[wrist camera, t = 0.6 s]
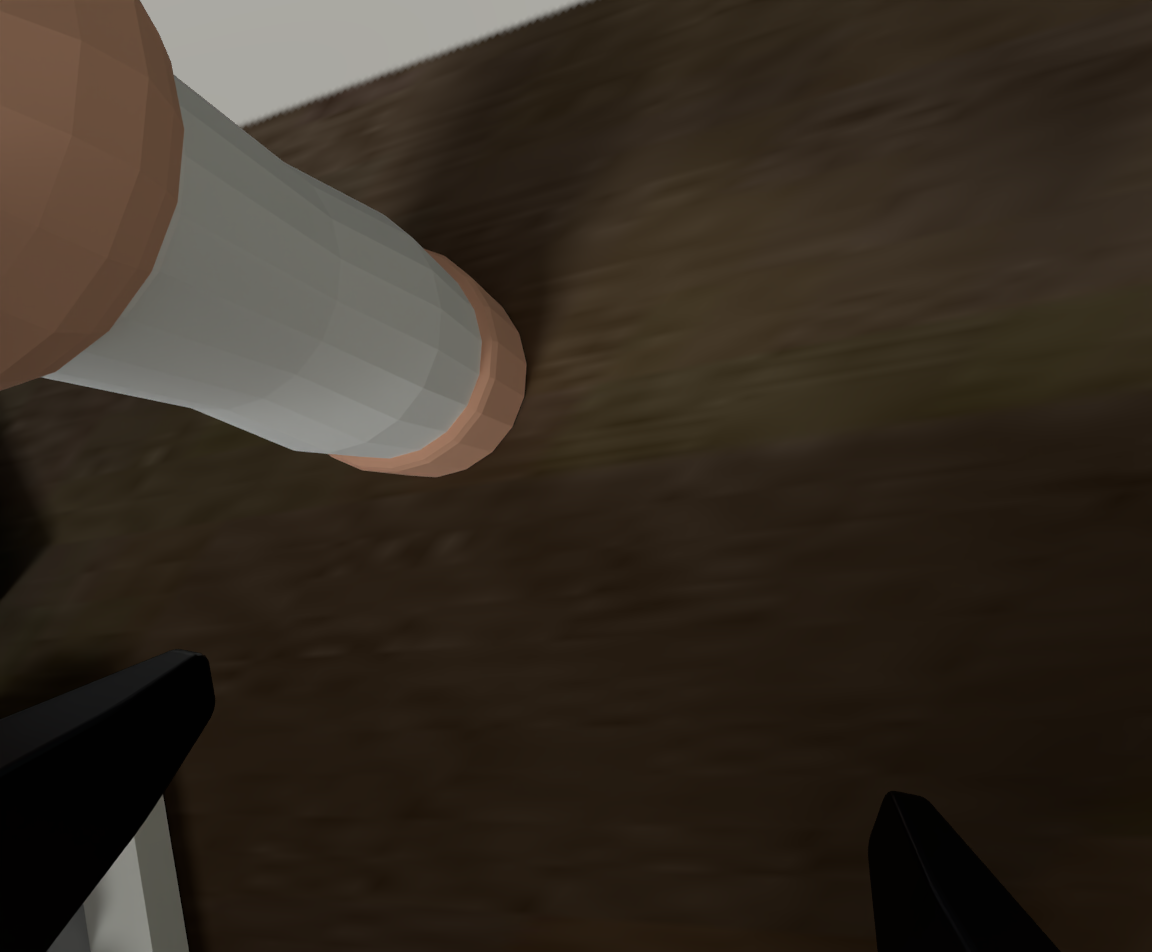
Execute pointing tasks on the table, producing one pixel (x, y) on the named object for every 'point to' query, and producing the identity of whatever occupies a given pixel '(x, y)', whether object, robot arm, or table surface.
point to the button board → (133, 900)
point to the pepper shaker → (223, 264)
